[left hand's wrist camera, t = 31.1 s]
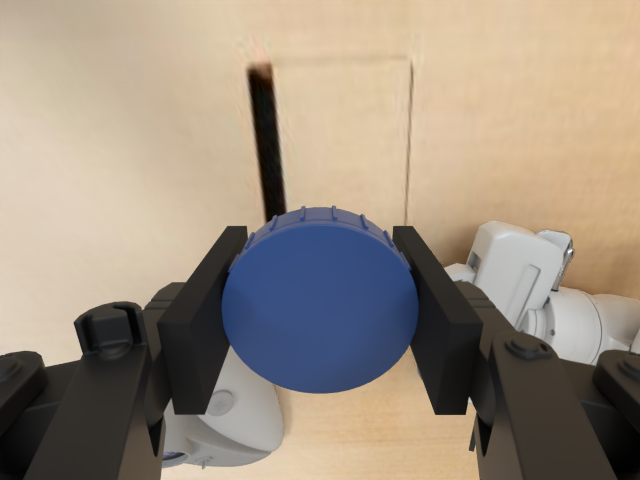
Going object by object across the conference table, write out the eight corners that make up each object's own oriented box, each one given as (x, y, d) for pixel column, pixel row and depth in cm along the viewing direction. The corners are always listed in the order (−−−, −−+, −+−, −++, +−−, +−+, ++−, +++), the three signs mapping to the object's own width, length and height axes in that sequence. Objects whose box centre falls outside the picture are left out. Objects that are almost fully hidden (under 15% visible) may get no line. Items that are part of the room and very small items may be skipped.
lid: (270, 377, 13) (264, 413, 12) (202, 238, 11) (183, 260, 10) (425, 335, 13) (440, 368, 11) (382, 178, 11) (392, 192, 9)
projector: (123, 419, 50) (50, 538, 37) (138, 281, 42) (52, 367, 29) (276, 449, 52) (260, 572, 39) (317, 323, 44) (317, 422, 31)
